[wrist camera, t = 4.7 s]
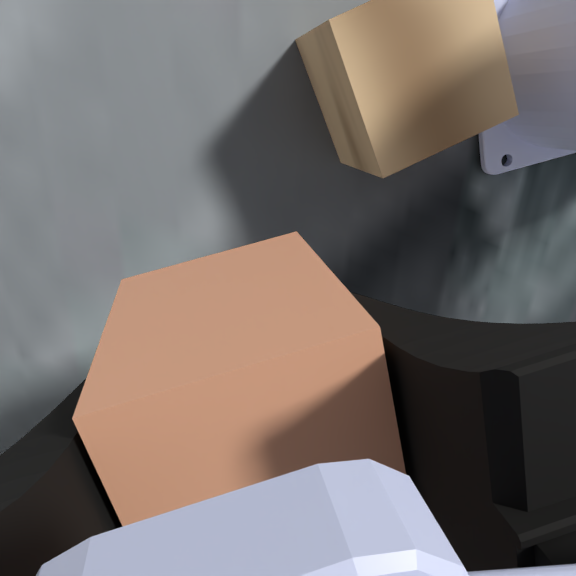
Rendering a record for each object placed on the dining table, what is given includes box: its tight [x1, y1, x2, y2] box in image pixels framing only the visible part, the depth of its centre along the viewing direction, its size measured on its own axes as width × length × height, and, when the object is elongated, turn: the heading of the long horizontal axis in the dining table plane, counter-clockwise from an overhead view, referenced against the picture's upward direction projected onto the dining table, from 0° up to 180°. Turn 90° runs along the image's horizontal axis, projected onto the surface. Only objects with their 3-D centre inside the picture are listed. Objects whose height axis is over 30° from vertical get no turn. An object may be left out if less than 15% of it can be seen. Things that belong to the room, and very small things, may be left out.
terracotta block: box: [72, 231, 406, 526], centre depth 11 cm, size 4×4×6 cm
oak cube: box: [295, 0, 519, 178], centre depth 18 cm, size 5×5×5 cm
